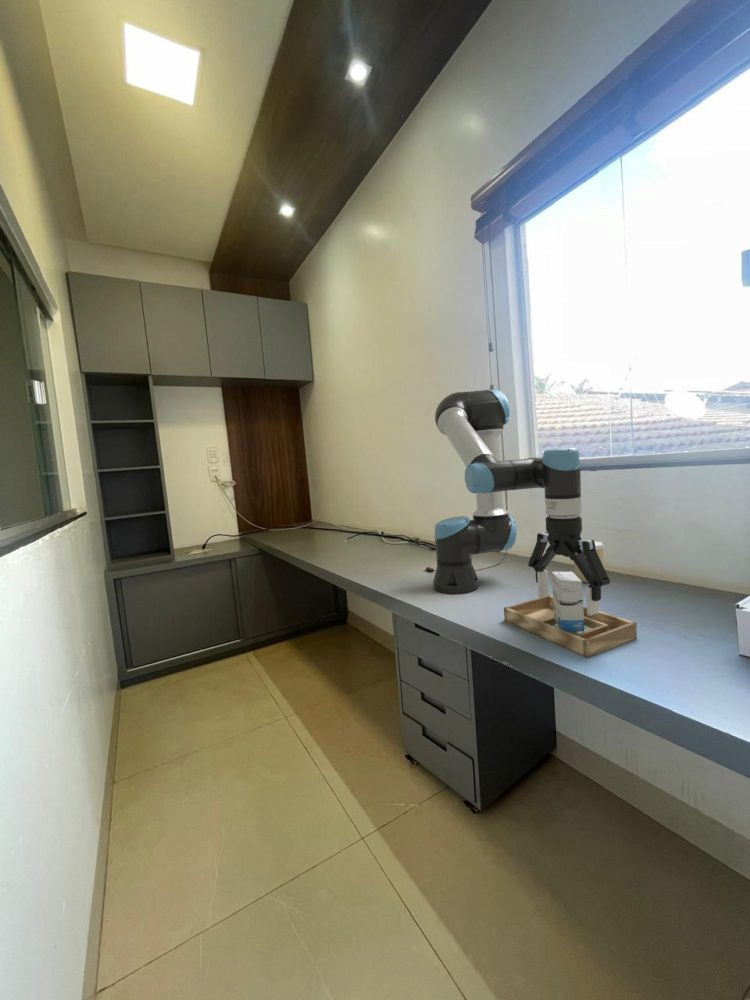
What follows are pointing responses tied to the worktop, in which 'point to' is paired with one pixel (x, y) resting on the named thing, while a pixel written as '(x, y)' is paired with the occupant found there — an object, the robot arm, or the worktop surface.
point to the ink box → (568, 601)
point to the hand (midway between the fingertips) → (566, 604)
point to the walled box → (594, 639)
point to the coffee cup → (599, 550)
